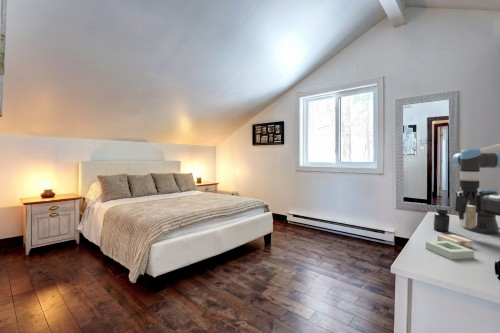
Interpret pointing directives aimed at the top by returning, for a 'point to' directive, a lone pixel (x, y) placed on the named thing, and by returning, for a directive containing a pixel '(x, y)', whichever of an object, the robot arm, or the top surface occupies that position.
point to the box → (470, 216)
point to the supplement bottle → (441, 220)
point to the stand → (456, 240)
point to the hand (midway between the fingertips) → (468, 225)
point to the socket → (450, 250)
